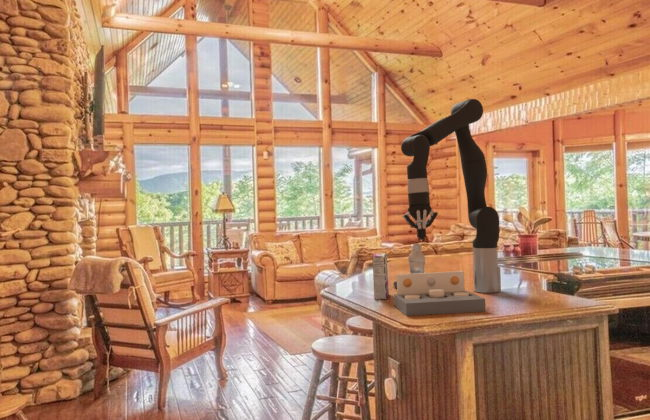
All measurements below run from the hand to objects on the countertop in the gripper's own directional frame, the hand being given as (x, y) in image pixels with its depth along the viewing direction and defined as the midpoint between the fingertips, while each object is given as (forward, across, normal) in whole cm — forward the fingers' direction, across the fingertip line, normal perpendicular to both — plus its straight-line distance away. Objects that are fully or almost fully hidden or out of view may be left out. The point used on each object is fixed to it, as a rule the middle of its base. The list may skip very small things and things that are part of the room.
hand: (421, 239), depth 173 cm
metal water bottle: (+23, 0, -8) cm, 24 cm away
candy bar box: (+22, +13, -13) cm, 29 cm away
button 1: (+21, +9, +11) cm, 25 cm away
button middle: (+19, 0, +11) cm, 23 cm away
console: (+22, 0, +12) cm, 26 cm away
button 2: (+21, -8, +12) cm, 26 cm away
